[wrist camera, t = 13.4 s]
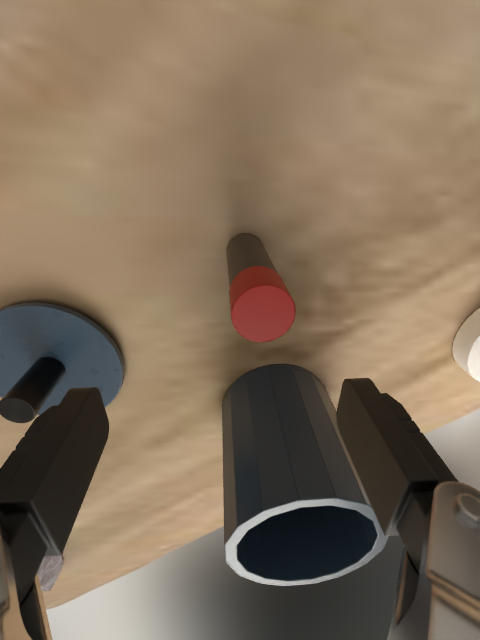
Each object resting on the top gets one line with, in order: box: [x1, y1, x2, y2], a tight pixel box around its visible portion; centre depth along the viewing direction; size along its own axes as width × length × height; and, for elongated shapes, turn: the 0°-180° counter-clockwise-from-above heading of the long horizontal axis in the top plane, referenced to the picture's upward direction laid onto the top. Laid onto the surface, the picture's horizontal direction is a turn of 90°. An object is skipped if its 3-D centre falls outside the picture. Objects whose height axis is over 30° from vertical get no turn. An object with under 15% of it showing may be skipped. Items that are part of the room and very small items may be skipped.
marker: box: [227, 233, 296, 342], centre depth 18 cm, size 3×3×10 cm
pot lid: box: [0, 303, 124, 423], centre depth 23 cm, size 12×12×6 cm
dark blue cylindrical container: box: [222, 364, 389, 586], centre depth 25 cm, size 11×11×12 cm
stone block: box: [37, 555, 63, 591], centre depth 38 cm, size 12×5×10 cm
